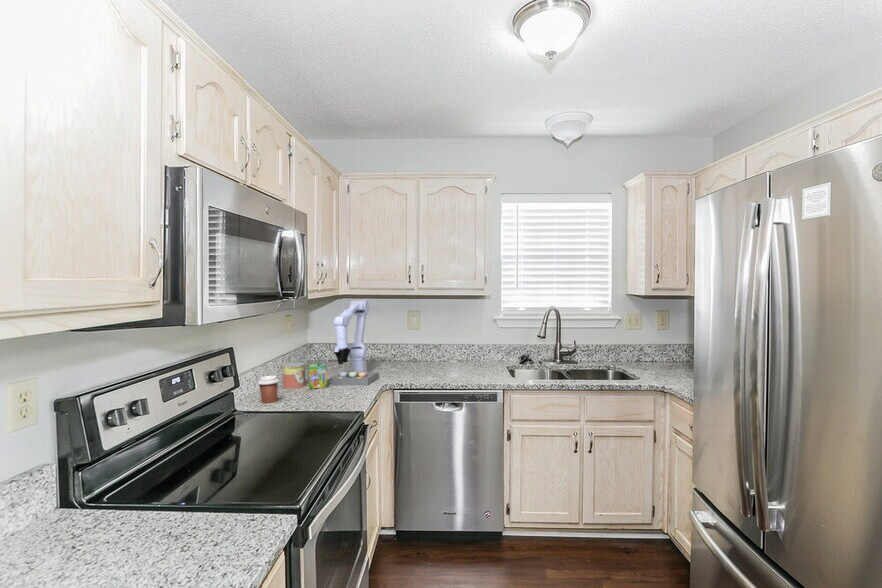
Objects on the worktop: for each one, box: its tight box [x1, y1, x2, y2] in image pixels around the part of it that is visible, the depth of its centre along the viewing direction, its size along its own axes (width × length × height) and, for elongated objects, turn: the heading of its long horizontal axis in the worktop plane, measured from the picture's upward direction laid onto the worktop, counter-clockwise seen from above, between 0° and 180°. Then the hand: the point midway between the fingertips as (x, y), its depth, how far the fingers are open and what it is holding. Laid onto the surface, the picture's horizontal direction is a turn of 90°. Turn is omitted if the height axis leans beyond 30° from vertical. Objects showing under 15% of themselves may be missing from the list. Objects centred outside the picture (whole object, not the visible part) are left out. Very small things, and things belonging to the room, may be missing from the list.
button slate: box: [339, 371, 348, 377], centre depth 239 cm, size 4×4×3 cm
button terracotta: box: [359, 372, 366, 377], centre depth 236 cm, size 4×4×3 cm
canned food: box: [281, 361, 307, 390], centre depth 232 cm, size 11×11×12 cm
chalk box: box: [307, 358, 329, 390], centre depth 230 cm, size 9×9×15 cm
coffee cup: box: [257, 375, 280, 406], centre depth 201 cm, size 9×9×12 cm
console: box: [328, 371, 380, 386], centre depth 240 cm, size 16×22×4 cm
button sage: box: [348, 371, 357, 377], centre depth 238 cm, size 4×4×3 cm
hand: (343, 363), depth 239 cm, fingers open, 5 cm apart
